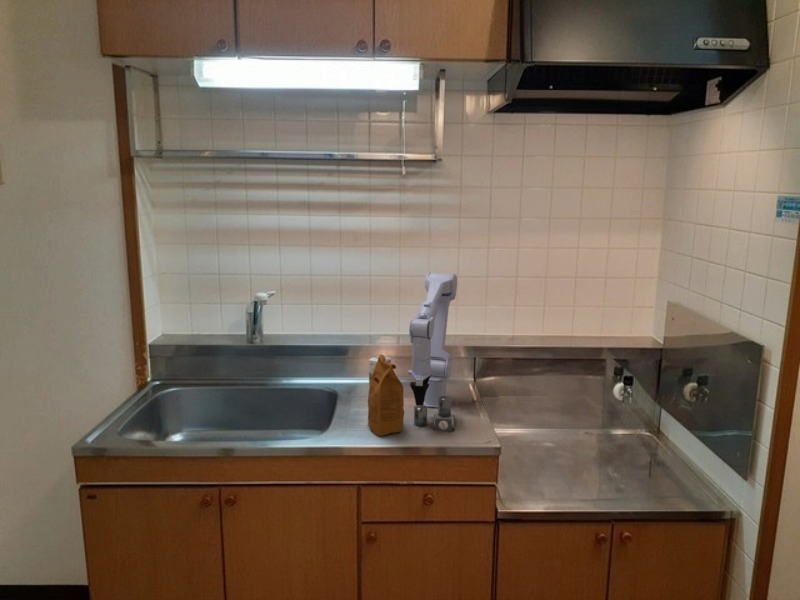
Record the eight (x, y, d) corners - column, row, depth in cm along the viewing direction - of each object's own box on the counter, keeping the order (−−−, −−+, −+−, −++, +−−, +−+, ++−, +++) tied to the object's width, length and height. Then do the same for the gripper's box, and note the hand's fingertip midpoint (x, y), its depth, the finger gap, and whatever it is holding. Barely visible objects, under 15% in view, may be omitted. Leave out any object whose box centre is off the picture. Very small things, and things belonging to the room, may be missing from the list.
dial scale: (434, 417, 187) (434, 406, 186) (455, 418, 186) (455, 407, 185) (432, 431, 176) (432, 420, 176) (454, 432, 176) (454, 421, 175)
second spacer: (414, 421, 184) (414, 404, 183) (427, 421, 183) (427, 405, 182) (413, 426, 180) (413, 409, 179) (426, 427, 179) (426, 410, 178)
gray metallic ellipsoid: (438, 412, 186) (438, 395, 185) (451, 412, 186) (451, 396, 185) (437, 417, 182) (438, 400, 181) (450, 417, 182) (451, 401, 181)
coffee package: (394, 418, 186) (394, 351, 181) (407, 434, 174) (407, 363, 170) (364, 421, 183) (363, 354, 179) (374, 438, 171) (374, 366, 167)
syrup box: (391, 397, 203) (391, 357, 200) (382, 403, 198) (382, 361, 195) (378, 394, 206) (378, 354, 203) (368, 399, 201) (368, 359, 198)
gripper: (410, 350, 185) (410, 391, 187) (405, 364, 170) (405, 408, 173) (432, 351, 184) (432, 392, 187) (429, 365, 170) (429, 409, 172)
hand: (420, 400), depth 180 cm, fingers open, 7 cm apart
